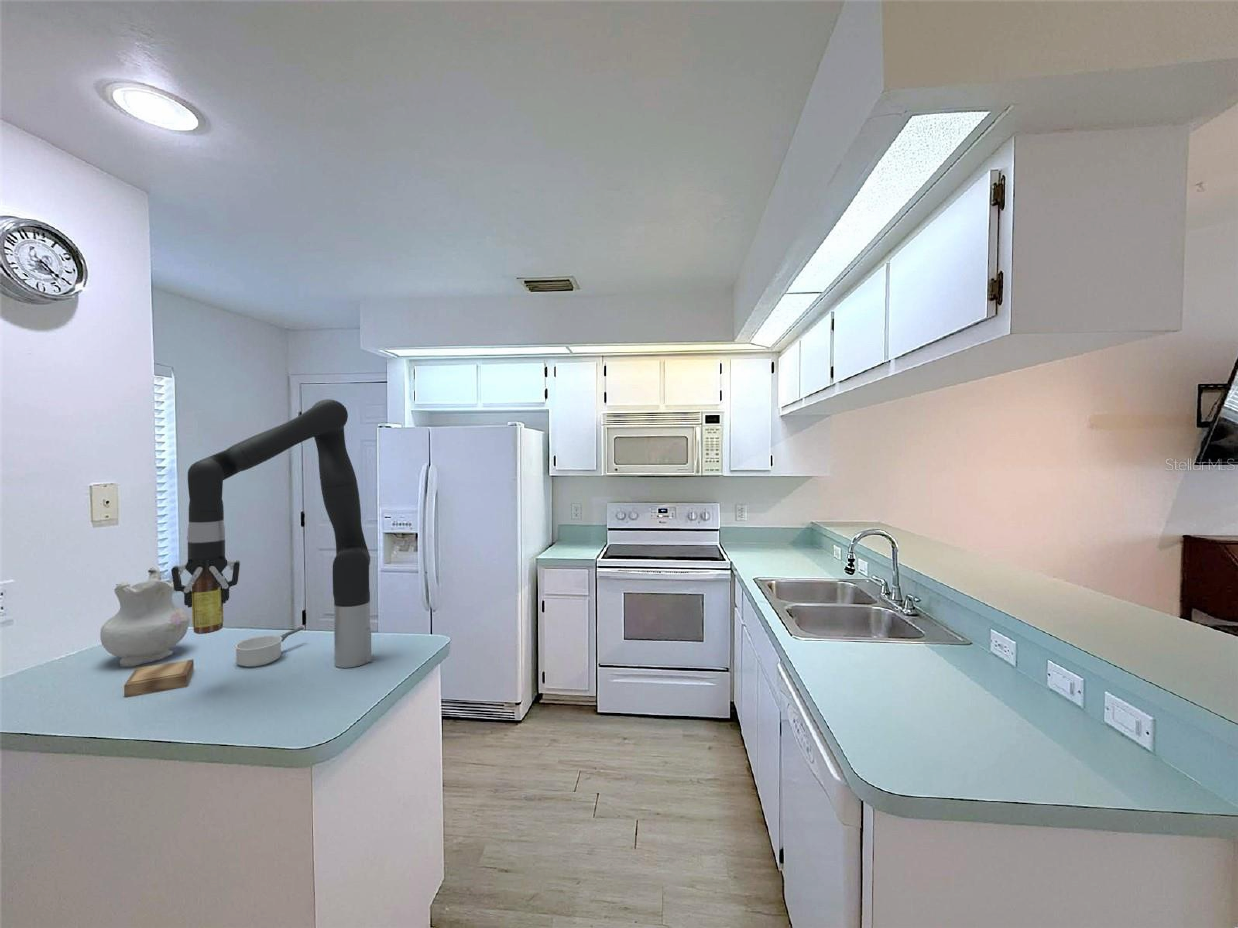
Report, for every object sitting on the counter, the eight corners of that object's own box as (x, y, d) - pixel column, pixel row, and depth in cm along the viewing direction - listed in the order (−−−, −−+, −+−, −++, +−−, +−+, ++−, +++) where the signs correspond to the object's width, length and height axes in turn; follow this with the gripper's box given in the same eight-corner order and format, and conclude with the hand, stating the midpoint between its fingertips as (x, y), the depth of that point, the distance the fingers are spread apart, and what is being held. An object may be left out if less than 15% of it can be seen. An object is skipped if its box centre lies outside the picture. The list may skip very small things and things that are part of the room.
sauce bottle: (228, 629, 137) (228, 551, 137) (201, 636, 132) (200, 555, 131) (213, 625, 140) (213, 549, 140) (186, 632, 134) (185, 553, 134)
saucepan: (316, 646, 167) (316, 628, 166) (254, 671, 148) (254, 651, 147) (288, 642, 170) (288, 624, 170) (224, 666, 151) (224, 646, 151)
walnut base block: (193, 669, 148) (193, 658, 148) (186, 686, 138) (186, 673, 138) (136, 679, 142) (135, 667, 142) (124, 697, 132) (124, 684, 132)
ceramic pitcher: (106, 657, 160) (95, 575, 158) (189, 637, 173) (180, 561, 171) (103, 681, 144) (91, 590, 142) (195, 657, 157) (185, 573, 155)
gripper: (242, 534, 142) (242, 597, 143) (172, 538, 135) (173, 605, 135) (240, 538, 136) (240, 604, 136) (166, 543, 128) (167, 612, 129)
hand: (207, 604), depth 136 cm, fingers closed on sauce bottle, 6 cm apart
